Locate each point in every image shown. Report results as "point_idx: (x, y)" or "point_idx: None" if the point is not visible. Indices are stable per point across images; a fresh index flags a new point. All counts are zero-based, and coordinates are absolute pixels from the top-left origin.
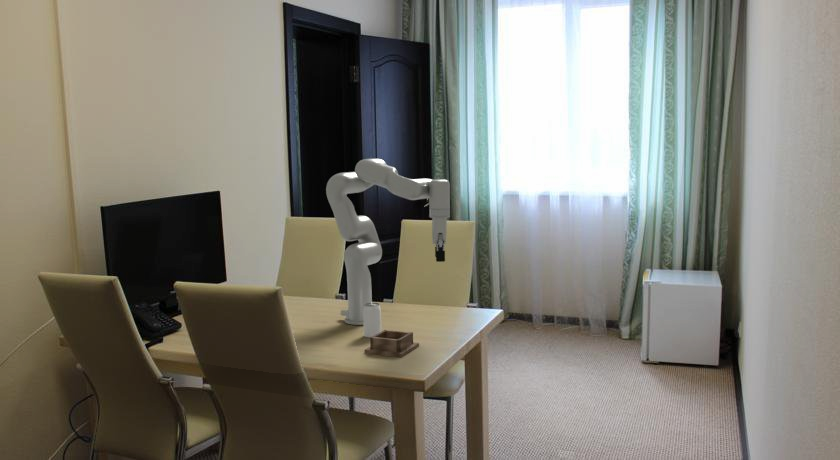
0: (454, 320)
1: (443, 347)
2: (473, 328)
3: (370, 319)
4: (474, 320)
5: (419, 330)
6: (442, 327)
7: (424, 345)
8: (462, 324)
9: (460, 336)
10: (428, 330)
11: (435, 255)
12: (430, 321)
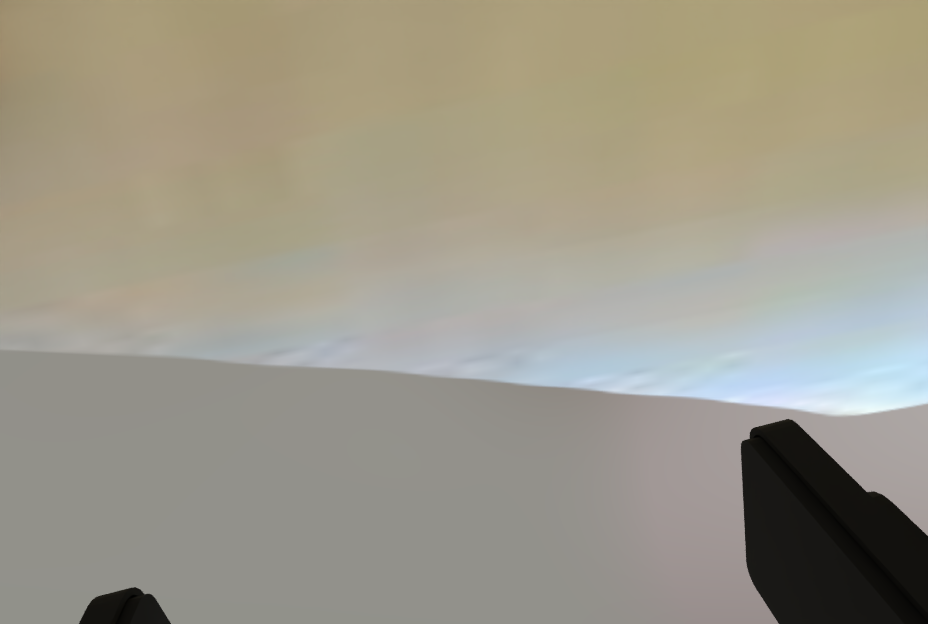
0: (735, 203)
1: (46, 274)
2: (535, 354)
3: None
4: (729, 324)
5: (439, 6)
6: (543, 162)
7: (42, 141)
8: (629, 274)
9: (335, 319)
10: (449, 78)
11: (778, 449)
12: (712, 34)
